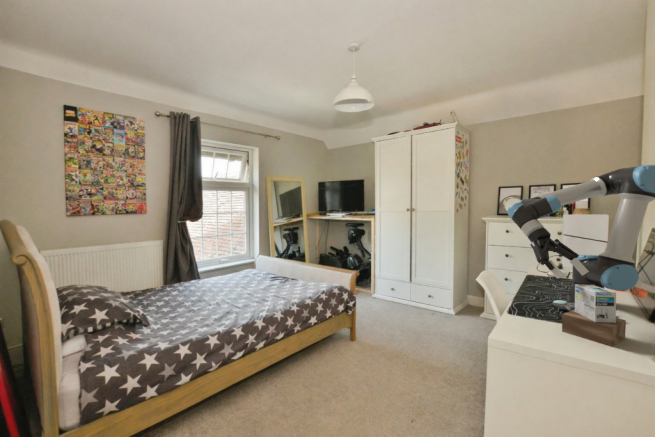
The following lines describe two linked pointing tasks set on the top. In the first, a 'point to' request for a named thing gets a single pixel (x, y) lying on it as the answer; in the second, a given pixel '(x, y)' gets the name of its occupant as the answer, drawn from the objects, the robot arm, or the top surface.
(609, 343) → the walnut block
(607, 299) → the light bulb box
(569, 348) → the top surface
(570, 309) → the toy aircraft
